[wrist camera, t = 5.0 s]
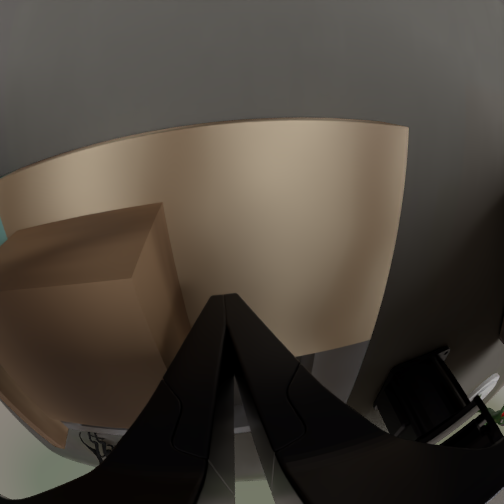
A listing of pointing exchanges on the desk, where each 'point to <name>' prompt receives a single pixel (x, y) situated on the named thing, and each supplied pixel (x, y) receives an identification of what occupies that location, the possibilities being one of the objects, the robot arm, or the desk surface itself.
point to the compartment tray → (244, 228)
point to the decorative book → (502, 332)
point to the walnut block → (91, 313)
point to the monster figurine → (482, 390)
